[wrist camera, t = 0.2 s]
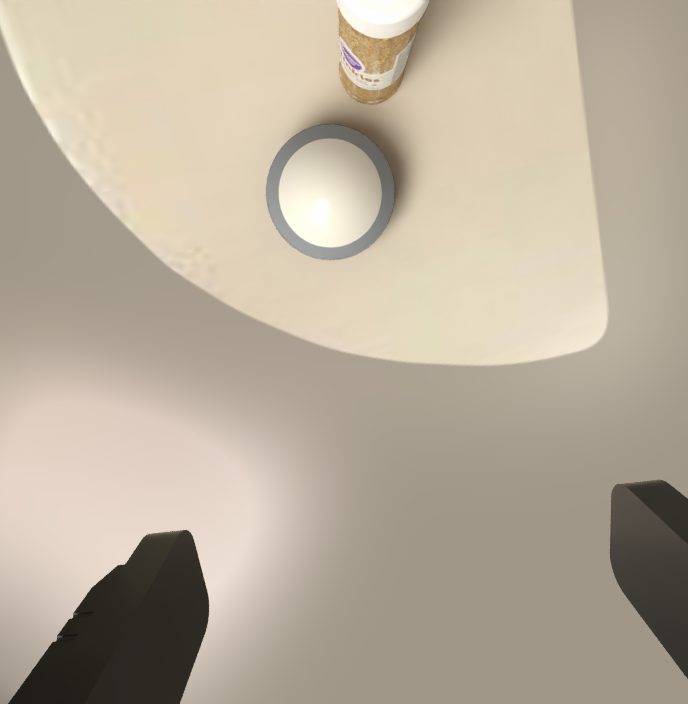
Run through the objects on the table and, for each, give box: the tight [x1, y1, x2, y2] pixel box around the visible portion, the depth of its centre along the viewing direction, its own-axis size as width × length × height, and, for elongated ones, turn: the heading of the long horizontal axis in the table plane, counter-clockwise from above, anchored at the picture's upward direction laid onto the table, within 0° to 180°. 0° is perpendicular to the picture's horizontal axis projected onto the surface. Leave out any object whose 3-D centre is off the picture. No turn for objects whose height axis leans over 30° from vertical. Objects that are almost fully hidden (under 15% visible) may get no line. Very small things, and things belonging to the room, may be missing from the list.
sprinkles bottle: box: [336, 0, 430, 105], centre depth 25 cm, size 5×5×14 cm
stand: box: [266, 124, 395, 260], centre depth 33 cm, size 9×9×3 cm
